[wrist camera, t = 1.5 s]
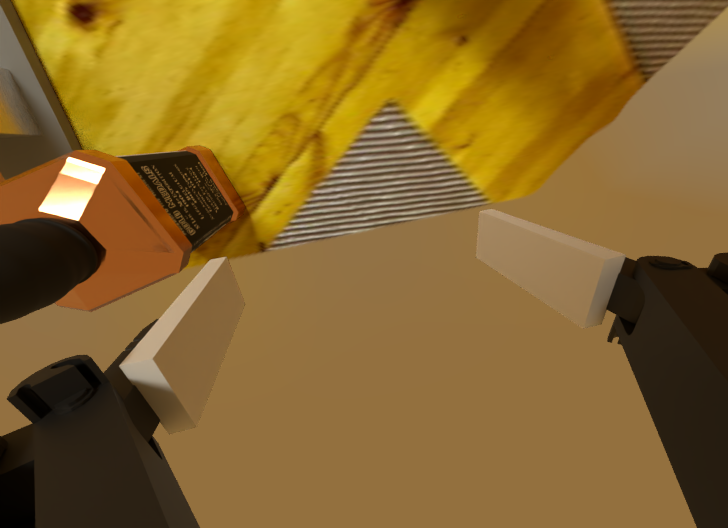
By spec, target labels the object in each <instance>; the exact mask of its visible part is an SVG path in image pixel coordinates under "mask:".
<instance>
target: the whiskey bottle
mask: <svg viewBox="0 0 728 528" xmlns="http://www.w3.org/2000/svg"><path fill="white" fill-rule="evenodd" d="M244 210H245V205H244V204H243V202H242V200H241V199H240V197H239V196H238V194H237V192H236V191H235V189H234V187H233V186H232V184H231V183H230V181H229V179H228V178H227V176H226V174H225V173H224V171H223V170H222V168H221V166H220V165H219V163H218V162H217V160H216V158H215V157H214V155H213V153H212V152H211V150H210V149H208V148H205V147H202V146H200V145H198V146H188V147H185V148H183V149H181V150H178V151H173V152H161V153H149V154H138V155H126V156H112V155H109V154H106V153H103V152H100V151H97V150H74V151H72V152H70V153H67V154H65V155H63V156H60V157H58V158H56V159H54V160H51V161H49V162H47V163H44V164H42V165H40V166H37V167H35V168H33V169H31V170H28V171H26V172H24V173H21V174H19V175H17V176H14V177H12V178H10V179H8V180H5V181H3V182H1V183H0V324H2V323H5V322H9V321H12V320H15V319H18V318H21V317H23V316H25V315H27V314H29V313H31V312H34V311H36V310H39V309H41V308H44V307H46V306H49V305H51V304H53V303H55V304H56V305H58V306H60V307H64V308H70V309H77V310H82V311H89V312H92V311H94V310H97V309H99V308H101V307H104V306H106V305H108V304H110V303H112V302H115V301H117V300H119V299H121V298H123V297H126V296H128V295H130V294H132V293H134V292H137V291H139V290H141V289H144V288H146V287H148V286H150V285H153V284H155V283H157V282H159V281H162V280H164V279H166V278H168V277H171V276H173V275H175V274H177V273H179V272H180V271H181V270H182V269H183V268H184V267H186V266H187V265H188V262H189V258H190V253H192V252H193V251H194V250H195V249H197V248H198V247H199V246H200V245H201V244H203V243H204V242H205V241H206V240H208V239H209V238H210V237H211V236H212V235H214V234H215V233H216V232H217V231H219V230H220V229H221V228H222V227H223V226H225V225H227V224H229V223H231V222H233V221H236V220H237V219H238V218H239V217H241V216H242V215H243V213H244Z"/></svg>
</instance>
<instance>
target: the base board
mask: <svg viewBox="0 0 728 528" xmlns="http://www.w3.org/2000/svg"><path fill="white" fill-rule="evenodd" d="M0 68H4V69H8V70H10V72H11V74H12V76H13V78H14V80H15V82H16V84H17V86H18V88H19V89H20V91H21V93H22V95H23V97H24V99H25V101H26V103H27V105H28V107H29V108H30V110H31V112H32V114H33V116H34V118H35V120H36V122H37V124H38V126H39V127H40V129H41V131H42V133H43V135H42V136H25V137H8V138H0V173H1V174H2V176H3V178H4V179H5V180H8V179H10V178H12V177H14V176H17V175H19V174H21V173H24V172H26V171H28V170H31V169H33V168H35V167H37V166H40V165H42V164H44V163H47V162H49V161H51V160H54V159H56V158H58V157H60V156H63V155H65V154H67V153H70V152H72V151H74V150H82V148H81V146H80V144H79V142H78V140H77V138H76V136H75V134H74V132H73V130H72V128H71V125H70V123H69V121H68V119H67V117H66V115H65V113H64V111H63V109H62V107H61V105H60V103H59V100H58V98H57V96H56V94H55V92H54V90H53V88H52V86H51V84H50V82H49V80H48V78H47V75H46V73H45V71H44V69H43V67H42V65H41V63H40V61H39V59H38V57H37V55H36V53H35V50H34V48H33V46H32V44H31V42H30V40H29V38H28V36H27V34H26V32H25V30H24V28H23V25H22V23H21V21H20V19H19V17H18V15H17V13H16V11H15V9H14V7H13V5H12V3H11V1H10V0H0Z"/></svg>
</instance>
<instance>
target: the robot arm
mask: <svg viewBox="0 0 728 528" xmlns="http://www.w3.org/2000/svg"><path fill="white" fill-rule="evenodd" d="M476 258H478V259H479V260H481V261H482V262H484V263H485V264H487V265H488V266H490V267H491V268H493V269H494V270H496V271H497V272H499V273H500V274H502V275H503V276H505V277H506V278H508V279H509V280H511V281H512V282H514V283H515V284H517V285H518V286H520V287H521V288H523V289H524V290H526V291H527V292H529V293H530V294H532V295H533V296H535V297H536V298H538V299H539V300H541V301H542V302H544V303H545V304H547V305H548V306H550V307H551V308H553V309H554V310H556V311H557V312H559V313H560V314H562V315H563V316H565V317H566V318H568V319H569V320H571V321H572V322H574V323H575V324H577V325H578V326H580V327H581V328H583V329H584V328H588V327H592V326H596V325H600V324H602V321H603V319H604V316H605V313H606V310H609V311H611V312H613V313H615V314H616V317H615V320H614V322H613V325H612V328H611V330H610V333H609V336H608V340H607V341H608V342H612V340H613V338H615V337H619V341H618V344H621V345H622V346H623V349H624V351H625V353H626V356H627V358H628V361H629V363H630V366H631V368H632V371H633V373H634V375H635V378H636V380H637V382H638V385H639V388H640V390H641V392H642V395H643V397H644V400H645V402H646V405H647V407H648V409H649V412H650V414H651V417H652V419H653V422H654V424H655V427H656V429H657V431H658V434H659V436H660V438H661V441H662V443H663V446H664V448H665V451H666V453H667V456H668V458H669V461H670V463H671V465H672V468H673V470H674V473H675V475H676V478H677V480H678V482H679V485H680V487H681V490H682V492H683V495H684V497H685V500H686V502H687V504H688V507H689V509H690V512H691V514H692V517H693V519H694V521H695V524H696V526H697V528H728V253H719V254H716V255H714V258H713V259H712V261H711V263H710V265H709V267H708V268H697V267H695V266H694V265H692V264H690V263H689V262H687V261H682V260H678V259H675V258H672V257H665V256H664V257H663V256H662V257H661V256H645V257H640V258H639V259H637V261H634V260H632V259H629V258H626V255H625V254H622V253H619V252H616V251H613V250H610V249H607V248H604V247H602V246H599V245H596V244H592V243H590V242H587V241H584V240H581V239H578V238H575V237H573V236H570V235H567V234H564V233H561V232H558V231H555V230H552V229H549V228H546V227H543V226H541V225H537V224H534V223H532V222H529V221H526V220H523V219H520V218H517V217H514V216H511V215H508V214H506V213H503V212H500V211H497V210H494V209H489V210H483V211H479V223H478V237H477V249H476ZM244 306H245V302H244V300H243V297H242V294H241V292H240V289H239V287H238V284H237V282H236V279H235V276H234V274H233V271H232V269H231V266H230V263H229V261H228V258H227V257H222V258H216V259H211V260H209V261H208V263H207V264H206V265H205V266H204V267H203V268H202V270H201V271H200V272H199V273H198V274H197V276H196V277H195V278H194V279H193V280H192V281H191V282H190V284H189V285H188V286H187V287H186V288H185V290H184V291H183V292H182V293H181V294H180V295H179V297H178V298H177V299H176V300H175V301H174V302H173V304H172V305H171V306H170V307H169V308H168V310H167V311H166V312H165V313H164V314H163V315H162V316H161V318H160V319H156V320H155V321H154V322H152V323H151V324H149V325H148V326H147V327H145V328H144V329H143V330H142V331H141V332H140V333H139V334H138V335H137V336H136V337H135V339H134V340H133V342H131V343H130V344H129V345H128V346H127V347H126V349H125V351H123V352H122V353H121V354H120V355H119V356H118V357H117V359H116V360H115V361H114V362H113V363H112V364H111V365H110V367H109V368H108V369H107V370H106V371H105V372H104V373H103V372H102V371H101V370H100V369H99V367H98V366H97V365H96V363H95V362H94V361H93V359H92V358H91V357H89V356H88V355H76V356H73V357H69V358H65V359H63V360H60V361H58V362H55V363H53V364H51V365H49V366H47V367H45V368H43V369H41V370H39V371H37V372H35V373H34V374H32V375H31V376H29V377H28V378H26V379H25V380H24V381H22V382H21V383H20V384H19V385H18V386H16V387H15V388H14V389H13V390H12V391H11V392H10V394H9V396H8V398H7V400H8V401H9V402H11V403H12V404H13V405H14V406H15V407H16V408H17V409H18V410H19V411H20V412H21V413H22V414H23V415H24V416H25V417H27V418H28V419H29V420H30V421H31V422H32V423H33V424H30V425H28V426H26V427H23V428H21V429H18V430H16V431H13V432H11V433H9V434H6V435H4V436H0V528H200V527H199V525H198V523H197V521H196V519H195V517H194V515H193V513H192V511H191V509H190V506H189V504H188V502H187V501H186V499H185V496H184V495H183V492H182V490H181V488H180V486H179V484H178V482H177V480H176V478H175V476H174V474H173V472H172V470H171V468H170V466H169V464H168V462H167V460H166V458H165V456H164V454H163V452H162V450H161V448H160V446H159V444H158V442H157V441H156V440H155V438H154V437H153V436H152V435H153V433H154V431H155V429H156V428H157V426H158V424H159V422H160V423H161V424H162V425H163V427H164V428H165V429H166V431H167V432H168V433H169V434H172V433H176V432H180V431H184V430H188V429H192V428H195V427H197V426H198V423H199V420H200V418H201V415H202V413H203V410H204V408H205V405H206V402H207V400H208V398H209V395H210V392H211V390H212V387H213V385H214V382H215V380H216V377H217V375H218V372H219V369H220V367H221V364H222V362H223V360H224V357H225V354H226V352H227V349H228V347H229V344H230V342H231V339H232V337H233V334H234V332H235V329H236V326H237V324H238V321H239V319H240V316H241V314H242V311H243V309H244Z"/></svg>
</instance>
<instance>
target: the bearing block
mask: <svg viewBox="0 0 728 528" xmlns="http://www.w3.org/2000/svg"><path fill="white" fill-rule="evenodd" d="M42 135H43V133H42V131H41V129H40V127H39V126H38V124H37V122H36V120H35V118H34V116H33V114H32V112H31V110H30V108H29V107H28V105H27V103H26V101H25V99H24V97H23V95H22V93H21V91H20V89H19V88H18V86H17V84H16V82H15V80H14V78H13V76H12V74H11V72H10V70H8V69H4V68H0V138H8V137H25V136H42Z"/></svg>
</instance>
